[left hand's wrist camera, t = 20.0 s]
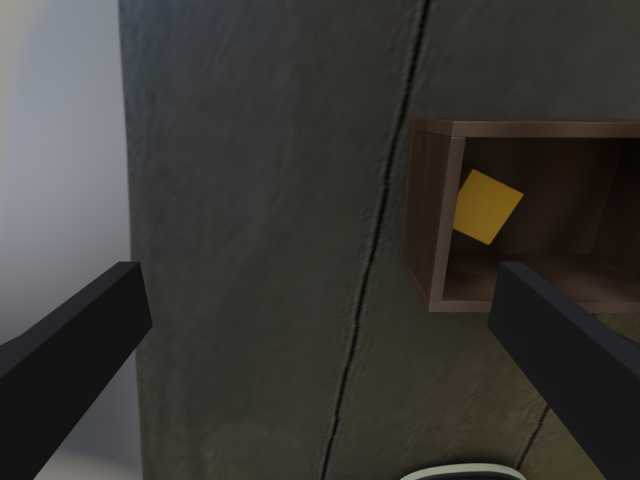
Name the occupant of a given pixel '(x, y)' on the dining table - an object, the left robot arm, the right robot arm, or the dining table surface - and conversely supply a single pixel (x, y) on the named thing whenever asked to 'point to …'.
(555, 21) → the dining table surface
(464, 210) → the block
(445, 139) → the chest
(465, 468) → the boat shoe
